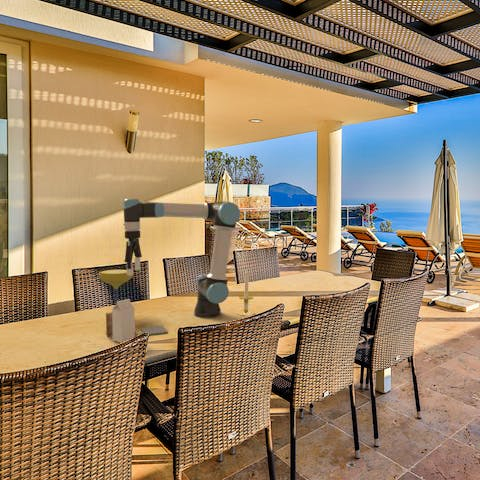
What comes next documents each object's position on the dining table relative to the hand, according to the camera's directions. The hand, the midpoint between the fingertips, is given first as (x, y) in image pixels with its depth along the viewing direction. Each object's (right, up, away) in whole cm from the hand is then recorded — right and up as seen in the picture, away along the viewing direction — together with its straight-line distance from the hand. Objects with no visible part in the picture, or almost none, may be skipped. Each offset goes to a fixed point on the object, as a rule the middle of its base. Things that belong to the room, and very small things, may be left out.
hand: (134, 272), depth 208 cm
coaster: (+10, -29, -1) cm, 31 cm away
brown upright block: (-5, -29, -6) cm, 30 cm away
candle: (+56, -27, +33) cm, 70 cm away
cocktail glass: (-16, -26, +26) cm, 40 cm away
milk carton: (-1, -30, -15) cm, 34 cm away
